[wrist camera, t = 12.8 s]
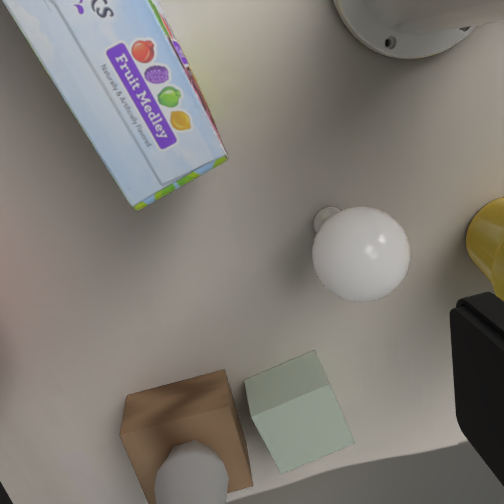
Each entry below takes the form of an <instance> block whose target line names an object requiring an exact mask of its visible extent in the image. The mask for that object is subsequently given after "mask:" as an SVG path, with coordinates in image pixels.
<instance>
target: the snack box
mask: <svg viewBox="0 0 504 504" xmlns="http://www.w3.org/2000/svg"><path fill="white" fill-rule="evenodd" d="M2 1H3V3H4V4H5V6H6V8H7V9H8V11H9V13H10V14H11V16H12V18H13V19H14V21H15V23H16V24H17V26H18V27H19V29H20V30H21V32H22V34H23V35H24V37H25V38H26V40H27V42H28V43H29V45H30V47H31V48H32V50H33V51H34V53H35V55H36V56H37V58H38V59H39V61H40V63H41V64H42V66H43V67H44V69H45V71H46V72H47V74H48V75H49V77H50V78H51V80H52V81H53V83H54V84H55V86H56V87H57V89H58V90H59V92H60V94H61V95H62V97H63V99H64V100H65V102H66V104H67V105H68V107H69V109H70V110H71V112H72V113H73V115H74V117H75V118H76V120H77V121H78V123H79V125H80V126H81V128H82V129H83V131H84V132H85V134H86V136H87V137H88V139H89V140H90V142H91V144H92V145H93V147H94V148H95V150H96V152H97V153H98V155H99V156H100V158H101V159H102V161H103V163H104V164H105V166H106V167H107V169H108V171H109V172H110V174H111V176H112V177H113V179H114V180H115V182H116V184H117V185H118V187H119V188H120V190H121V192H122V193H123V195H124V196H125V198H126V200H127V201H128V203H129V204H130V206H131V207H132V209H133V210H134V211H139V210H141V209H142V208H144V207H146V206H147V205H149V204H151V203H153V202H154V201H156V200H158V199H160V198H161V197H163V196H165V195H167V194H168V193H170V192H172V191H174V190H175V189H177V188H179V187H181V186H183V185H184V184H186V183H188V182H190V181H192V180H193V179H195V178H197V177H199V176H200V175H202V174H204V173H205V172H207V171H209V170H211V169H213V168H215V167H216V166H218V165H220V164H222V163H224V162H225V161H227V160H228V158H229V156H228V154H227V152H226V150H225V147H224V145H223V143H222V140H221V138H220V135H219V133H218V130H217V127H216V125H215V122H214V119H213V117H212V115H211V113H210V110H209V108H208V105H207V103H206V101H205V98H204V96H203V94H202V92H201V90H200V87H199V85H198V83H197V81H196V78H195V76H194V74H193V72H192V70H191V68H190V65H189V63H188V61H187V59H186V57H185V55H184V53H183V51H182V49H181V47H180V45H179V43H178V40H177V38H176V36H175V34H174V32H173V30H172V28H171V26H170V24H169V22H168V20H167V18H166V16H165V14H164V12H163V9H162V7H161V5H160V3H159V1H158V0H2Z"/></svg>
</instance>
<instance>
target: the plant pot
mask: <svg viewBox="0 0 504 504" xmlns="http://www.w3.org/2000/svg"><path fill="white" fill-rule="evenodd" d="M466 248H467V251H468V254H469V256H470V258H471V259H472V260H473V262H474V263H475V264H476V265H477V266H478V268H479V269H480V270H481V271H482V272H483V273H484V274H485V276H486V277H487V278H488V279H489V280H490V281H491V283H492V285H493V289H494V292H495V295H496V296H497V297H498V298H500V299H501V300H502V301H504V197H502V198H498V199H496V200H493V201H492V202H490V203H488V204H487V205H485V206H484V207H483V208H482V209H480V210H479V212H478V213H477V214H476V215H475V216H474V218H473V219H472V221H471V223H470V225H469V227H468V230H467V235H466Z"/></svg>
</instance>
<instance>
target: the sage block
mask: <svg viewBox="0 0 504 504" xmlns="http://www.w3.org/2000/svg"><path fill="white" fill-rule="evenodd" d="M244 382H245V387H246V393H247V398H248V403H249V409H250V414H251V418H252V420H253V422H254V424H255V425H256V427H257V429H258V431H259V433H260V435H261V437H262V439H263V440H264V442H265V444H266V446H267V448H268V450H269V452H270V454H271V455H272V457H273V459H274V461H275V463H276V465H277V467H278V469H279V470H280V472H281V474H283V473H285V472H288V471H290V470H293V469H295V468H297V467H300V466H302V465H304V464H307V463H309V462H311V461H314V460H316V459H319V458H321V457H323V456H326V455H328V454H330V453H333V452H335V451H338V450H340V449H342V448H345V447H347V446H349V445H352V444H354V443H355V441H354V439H353V437H352V434H351V432H350V430H349V427H348V425H347V423H346V420H345V418H344V416H343V413H342V411H341V409H340V406H339V404H338V402H337V399H336V397H335V395H334V392H333V390H332V388H331V385H330V383H329V381H328V379H327V377H326V374H325V372H324V370H323V368H322V366H321V363H320V361H319V359H318V357H317V355H316V353H315V350H313V351H311V352H308V353H306V354H304V355H301V356H299V357H297V358H294V359H292V360H290V361H287V362H285V363H283V364H280V365H278V366H276V367H273V368H271V369H269V370H266V371H264V372H262V373H259V374H257V375H255V376H252V377H250V378H248V379H245V380H244Z"/></svg>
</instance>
